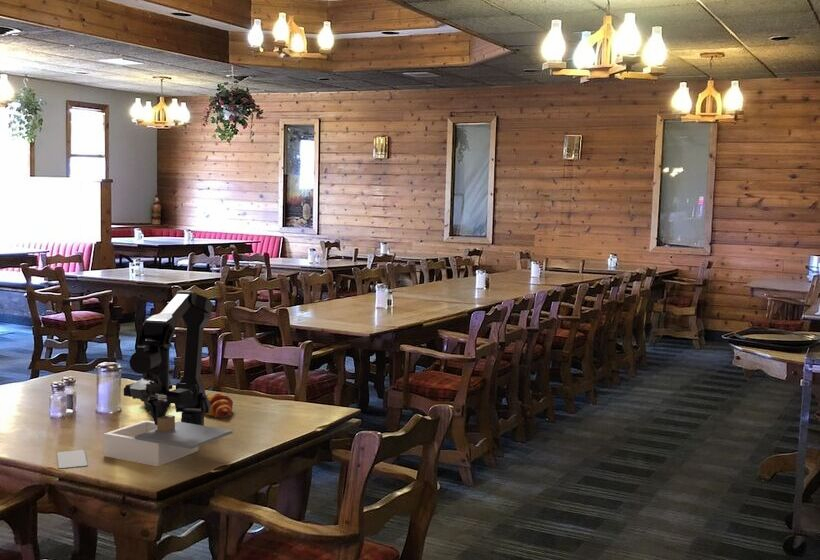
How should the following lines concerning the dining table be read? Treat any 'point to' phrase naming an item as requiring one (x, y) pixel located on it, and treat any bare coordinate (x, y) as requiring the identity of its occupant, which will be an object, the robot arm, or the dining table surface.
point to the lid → (182, 433)
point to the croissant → (219, 405)
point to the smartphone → (71, 459)
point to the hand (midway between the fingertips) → (157, 424)
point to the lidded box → (141, 446)
